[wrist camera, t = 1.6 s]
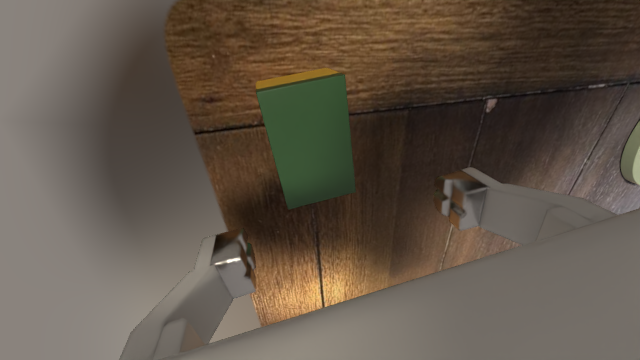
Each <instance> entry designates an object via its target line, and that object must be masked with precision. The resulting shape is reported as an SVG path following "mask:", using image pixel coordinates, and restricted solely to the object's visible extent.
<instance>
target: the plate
mask: <svg viewBox="0 0 640 360" xmlns="http://www.w3.org/2000/svg"><path fill="white" fill-rule="evenodd" d="M621 172H622V175H623V177H624V178H625V179H626V180H628V181H629V182H632V183H634V184H637V185H640V121H639V122H638V124H637V125H636V127H635V128H634V130H633V132H632V133H631V135H630V137H629V139H628V141H627V143H626V145H625V148H624V151H623V154H622V158H621Z"/></svg>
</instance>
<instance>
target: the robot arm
mask: <svg viewBox="0 0 640 360" xmlns="http://www.w3.org/2000/svg"><path fill="white" fill-rule="evenodd" d="M435 187H436V188H437V190H436V191H435V193H434V198H433V201H434V204H435V207H436V208H437V210H438V211H439V212H440V213H441V214H442V215H445V216H448V217H449V221H450V222H451V223H452V224H453V225H454V226H455V227H456V228H457V229H458V230H459V231H462V230H465V229H469V228H473V227H477V226H479V227H481V228H483V229H486V230H488V231H490V232H493V233H495V234H497V235H500V236H502V237H504V238H507V239H509V240H511V241H514V242H516V243H519V244H521V245H522V246H518V247H515V248H512V249H509V250H506V251H503V252H499V253H496V254H493V255H490V256H487V257H483V258H480V259H477V260H474V261H471V262H467V263H464V264H461V265H458V266H455V267H451V268H448V269H445V270H442V271H439V272H435V273H432V274H429V275H426V276H423V277H420V278H416V279H413V280H410V281H407V282H404V283H401V284H397V285H394V286H391V287H388V288H385V289H381V290H378V291H375V292H372V293H369V294H366V295H362V296H359V297H356V298H353V299H350V300H346V301H343V302H340V303H337V304H334V305H331V306H327V307H324V308H321V309H318V310H315V311H311V312H308V313H305V314H302V315H299V316H296V317H292V318H289V319H286V320H283V321H280V322H276V323H273V324H270V325H267V326H264V327H261V328H257V329H254V330H251V331H248V332H245V333H242V334H238V335H235V336H232V337H229V338H226V339H222V340H219V341H216V342H213V343H210V344H208V343H209V341H210V339H211V338H212V336H213V334H214V333H215V331H216V329H217V327H218V326H219V324H220V322H221V320H222V319H223V317H224V315H225V313H226V311H227V310H228V308H229V306H230V305H231V303H232V301H233V299H234V298H237V297H240V296H243V295H246V294H250V293H253V292H256V276H255V274H254V269H255V268H256V261H255V254H254V251H253V248H252V245H251V244H250V243H248V235H247V233H246V231H245V229H244V228H241V229H237V230H233V231H229V232H224V233H220V234H217V235H213V236H209V237H205V238H203V239H202V241H201V245H200V249H199V252H198V256H197V260H196V263H195V267H194V270H193V271H190V272H188V274H187V275H186V276H185V277H184V278H183V279H182V280H181V281H180V282H179V283H178V284H177V285H176V286H175V287H174V288H173V289H172V290H171V291H170V292H169V293H168V295H166V296H165V297H164V298H163V300H162V301H161V302H160V303H159V304H158V305H157V306H156V307H155V308H154V309H153V310H152V311H151V312H150V313H149V314H148V315H147V316H146V317H145V318H144V319H143V320H142V321H141V322H140V323H139V324H138V326H136V327H135V329H134V330H133V331H132V332H131V333H130V336H129V338H128V340H127V343H126V345H125V348H124V350H123V352H122V354H121V356H120V359H119V360H640V208H639V209H636V210H633V211H630V212H626V213H623V214H620V215H617V214H615V213H613V212H611V211H609V210H606V209H604V208H602V207H600V206H598V205H596V204H594V203H592V202H590V201H588V200H585V199H583V198H580V197H575V196H569V195H564V194H559V193H554V192H549V191H544V190H538V189H533V188H528V187H523V186H518V185H512V184H507V183H505V184H501V183H500V182H498V181H496V180H494V179H493V178H491V177H489V176H487V175H485V174H484V173H482V172H480V171H478V170H477V169H475V168H472V167H468V168H465V169H462V170H459V171H456V172H452V173H449V174H445V175H441V176H438V177H436V179H435Z"/></svg>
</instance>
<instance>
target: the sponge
mask: <svg viewBox="0 0 640 360" xmlns="http://www.w3.org/2000/svg"><path fill="white" fill-rule="evenodd" d="M256 94H257V98H258V102H259V105H260V109H261V113H262V116H263V120H264V124H265V127H266V131H267V135H268V138H269V142H270V146H271V149H272V153H273V157H274V160H275V164H276V168H277V171H278V175H279V179H280V182H281V186H282V189H283V193H284V197H285V200H286V204H287V208H288V209H293V208H296V207H300V206H304V205H308V204H312V203H316V202H320V201H323V200H327V199H331V198H335V197H339V196H343V195H346V194H350V193H354V192H356V189H355V178H354V167H353V156H352V146H351V135H350V124H349V113H348V103H347V92H346V81H345V75H344V74H342V73H339V72H337V71H334V70H332V69H329V68H323V69H318V70H313V71H307V72H302V73H297V74H292V75H287V76H282V77H277V78H272V79H267V80H262V81H257V82H256Z"/></svg>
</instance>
